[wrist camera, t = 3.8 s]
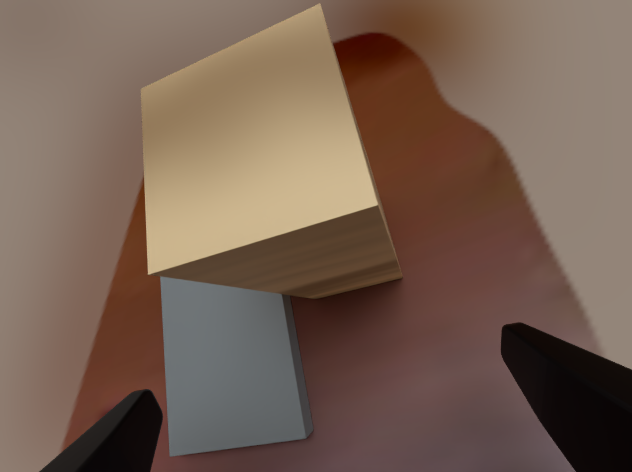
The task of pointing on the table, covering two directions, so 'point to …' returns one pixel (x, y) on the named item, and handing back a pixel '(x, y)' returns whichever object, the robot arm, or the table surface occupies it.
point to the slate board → (231, 368)
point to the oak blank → (263, 170)
